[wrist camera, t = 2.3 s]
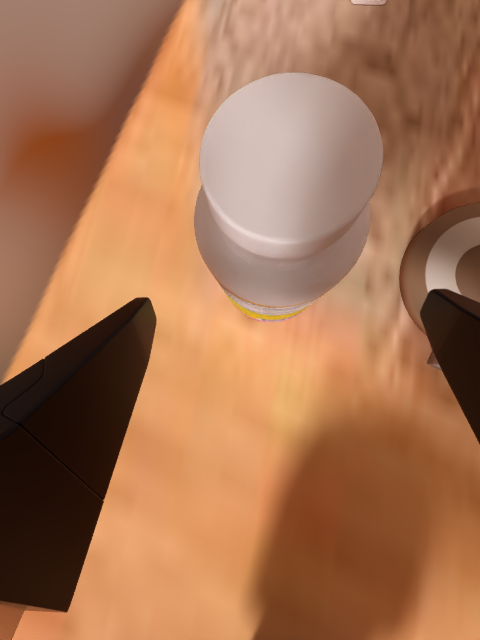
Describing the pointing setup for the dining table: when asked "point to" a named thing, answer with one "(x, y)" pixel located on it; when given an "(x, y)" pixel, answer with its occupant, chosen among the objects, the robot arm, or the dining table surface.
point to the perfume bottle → (369, 2)
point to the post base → (442, 261)
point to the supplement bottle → (286, 191)
